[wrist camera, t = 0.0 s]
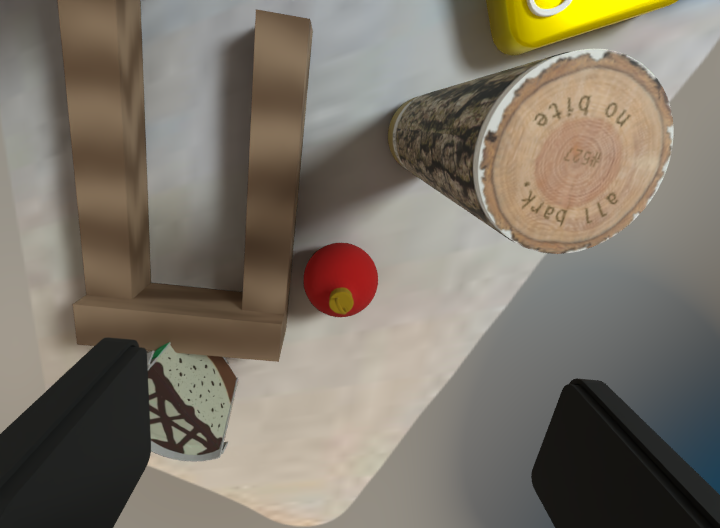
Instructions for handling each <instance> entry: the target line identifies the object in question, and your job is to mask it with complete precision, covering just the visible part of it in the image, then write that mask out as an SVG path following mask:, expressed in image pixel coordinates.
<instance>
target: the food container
mask: <svg viewBox="0 0 720 528" xmlns="http://www.w3.org/2000/svg"><path fill="white" fill-rule="evenodd" d="M170 344H171V343H170V342H169V343H167V344H165V345H163V346H161V347H160V348H158V349H157V350H156V351H151V352H149V353H147V365H148V388H149V410H150V432H151V451H152V452H154V453H156V454H158V455H161V456H163V457H167V458H171V459H175V460H181V461H206V460H212V459H216V458H220V455H221V454H222V453H223V452H224V450H225V448H226V446H227V444H228V442H224V440H225V435H226V431H227V427H228V422H229V418H230V414H231V410H232V405H233V401H234V397H235V393H236V388H237V384H238V380H239V379H238V378H236V376H235V375H234V373H233V372H232V370H231V369H230V367H229V365H228V364H227V363H228V362H227V360H226V359H225V357H219V356H208V355H196V354H184V353H176V352H175V351H174V349H173V348H172V347H171V345H170Z"/></svg>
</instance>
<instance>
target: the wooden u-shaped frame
mask: <svg viewBox="0 0 720 528" xmlns="http://www.w3.org/2000/svg"><path fill="white" fill-rule="evenodd" d="M57 1H58V11H59V21H60V32H61V42H62V52H63V62H64V72H65V82H66V93H67V103H68V113H69V123H70V133H71V144H72V154H73V164H74V174H75V184H76V194H77V205H78V215H79V225H80V235H81V245H82V256H83V266H84V276H85V286H86V296H84V297H83V298H81V299H80V300H78V301H77V302H75V303H74V304H73V312H74V321H75V329H76V338H77V344H79V345H91V346H95V345H96V344H97V343H98V342H99V341H101V340H102V339H103V338H107V337H109V338H120V339H132V340H136V341H137V342H138V344H139V347H142V348H145V349H146V350H149V351H156V350H157V349H158V348H160V347H161V346H163V345H165V344H167V343H169V342H170V343H171V344H170V345H171V347H172V348H173V349H174V351H175V352H176V353H184V354H196V355H208V356H219V357H231V358H242V359H254V360H266V361H277V362H279V357H280V353H281V349H282V345H283V340H284V336H285V332H286V323H287V312H288V301H289V290H290V279H291V268H292V256H293V245H294V234H295V223H296V212H297V201H298V189H299V178H300V167H301V156H302V145H303V133H304V122H305V111H306V100H307V89H308V78H309V66H310V55H311V44H312V33H313V30H312V26H311V22H310V19H307V18H301V17H296V16H290V15H284V14H279V13H273V12H267V11H262V10H256V21H255V42H254V64H253V85H252V106H251V128H250V149H249V171H248V192H247V214H246V235H245V257H244V278H243V292H236V291H226V290H216V289H207V288H197V287H187V286H178V285H168V284H158V283H151V269H150V242H149V216H148V190H147V163H146V137H145V110H144V84H143V58H142V31H141V5H140V0H57Z"/></svg>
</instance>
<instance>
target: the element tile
mask: <svg viewBox="0 0 720 528" xmlns="http://www.w3.org/2000/svg"><path fill="white" fill-rule="evenodd" d="M677 1H678V0H486V3H487V9H488V15H489V22H490V28H491V34H492V38H493V41H494V43H495V45H496V47H497V48H498V50H500V51H501V52H503V53H504V54H508V55H519V54H522V53H525V52H528V51H531V50H534V49H537V48H540V47H543V46H547V45H550V44H553V43H556V42H559V41H562V40H565V39H568V38H572V37H575V36H578V35H581V34H584V33H587V32H590V31H593V30H596V29H600V28H603V27H606V26H609V25H612V24H615V23H618V22H621V21H624V20H628V19H631V18H634V17H637V16H640V15H643V14H646V13H649V12H652V11H654V10H657V9H660V8H663V7H666V6H669V5H671V4H673V3H675V2H677Z"/></svg>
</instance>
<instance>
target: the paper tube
mask: <svg viewBox="0 0 720 528" xmlns="http://www.w3.org/2000/svg"><path fill="white" fill-rule="evenodd" d="M388 144H389V148H390V151H391V153H392V155H393V157H394V158H395V160H396V161H397V162H398V163H399V164H400V165H401V166H402V167H404V168H405V169H407V170H408V171H409V172H411V173H412V174H414V175H415V176H417V177H418V178H420V179H421V180H423V181H424V182H425V183H427V184H428V185H430V186H431V187H433V188H434V189H436V190H437V191H439V192H440V193H442V194H443V195H445V196H446V197H448V198H449V199H451V200H452V201H453V202H455V203H456V204H458V205H459V206H461V207H462V208H464V209H465V210H467V211H468V212H470V213H471V214H473V215H474V216H476V217H477V218H478V219H480V220H481V221H483V222H484V223H486V224H487V225H489V226H490V227H492V228H493V229H495V230H496V231H498V232H499V233H501V234H502V235H504V236H505V237H506V238H508V239H509V240H511V241H513V242H515V243H517V244H519V245H521V246H523V247H525V248H528V249H531V250H534V251H538V252H543V253H554V254H560V253H571V252H577V251H581V250H584V249H587V248H590V247H593V246H596V245H598V244H600V243H602V242H604V241H606V240H608V239H610V238H611V237H613V236H615V235H616V234H617V233H619V232H620V231H622V230H623V229H624V228H625V227H627V226H628V225H629V224H630V223H631V222H632V221H633V220H634V219H635V218H636V217H637V216H638V215H639V214H640V213H641V212H642V211H643V209H644V208H645V207H646V206H647V205H648V203H649V202H650V200H651V199H652V197H653V196H654V194H655V193H656V191H657V190H658V187H659V186H660V184H661V181H662V180H663V177H664V175H665V172H666V170H667V167H668V164H669V160H670V155H671V151H672V144H673V117H672V112H671V107H670V104H669V101H668V98H667V96H666V93H665V91H664V89H663V87H662V86H661V84H660V83H659V81H658V79H657V78H656V77H655V76H654V75H653V73H652V72H651V71H650V70H649V69H648V68H646V67H645V66H644V65H643V64H641V63H640V62H639V61H637V60H636V59H634V58H632V57H630V56H628V55H625V54H622V53H620V52H616V51H612V50H607V49H583V50H577V51H572V52H566V53H562V54H558V55H555V56H552V57H548V58H545V59H541V60H538V61H535V62H531V63H528V64H525V65H521V66H518V67H515V68H511V69H508V70H505V71H501V72H498V73H495V74H491V75H488V76H484V77H481V78H478V79H474V80H471V81H468V82H464V83H461V84H458V85H454V86H451V87H448V88H444V89H441V90H438V91H434V92H431V93H428V94H424V95H421V96H419V97H415V98H413V99H410V100H409V101H407V102H405V103H404V104H403V105H402V106H401V107H400V108H399V109H398V110H397V111H396V112H395V114H394V116H393V118H392V120H391V122H390V125H389V130H388Z"/></svg>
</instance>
